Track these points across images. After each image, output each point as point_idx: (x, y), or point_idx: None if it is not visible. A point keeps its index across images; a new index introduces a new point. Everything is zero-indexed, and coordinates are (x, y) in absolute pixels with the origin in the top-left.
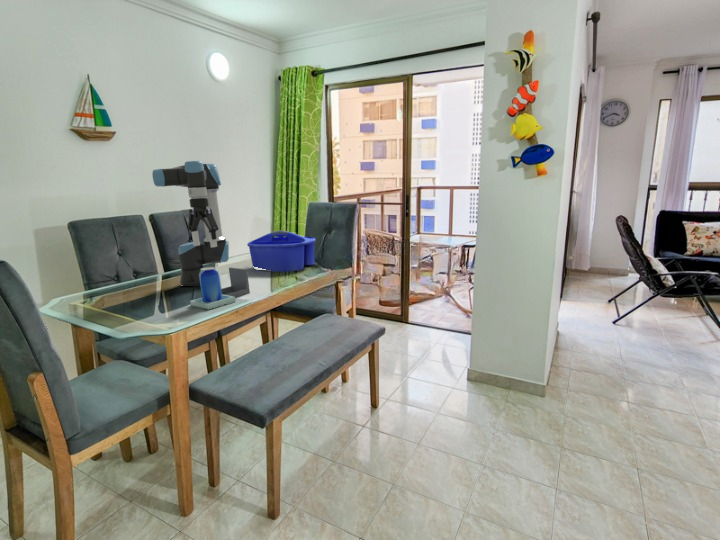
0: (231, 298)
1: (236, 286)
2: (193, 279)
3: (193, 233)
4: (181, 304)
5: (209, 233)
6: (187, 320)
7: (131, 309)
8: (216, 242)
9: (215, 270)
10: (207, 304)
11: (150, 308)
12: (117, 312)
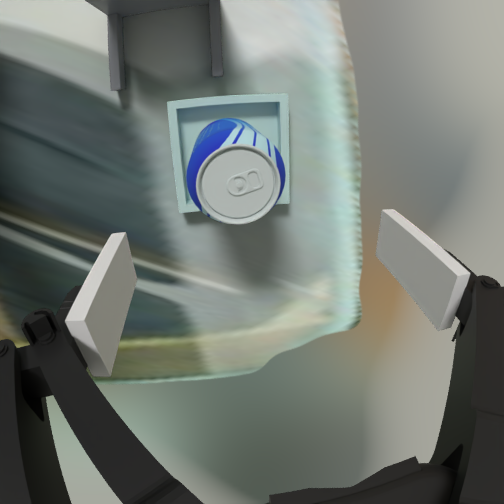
0: (287, 108)
1: (144, 6)
2: None
3: (110, 354)
4: (129, 215)
5: (440, 322)
6: (316, 272)
7: None
8: (411, 225)
9: (275, 160)
10: (286, 202)
11: None
12: None
